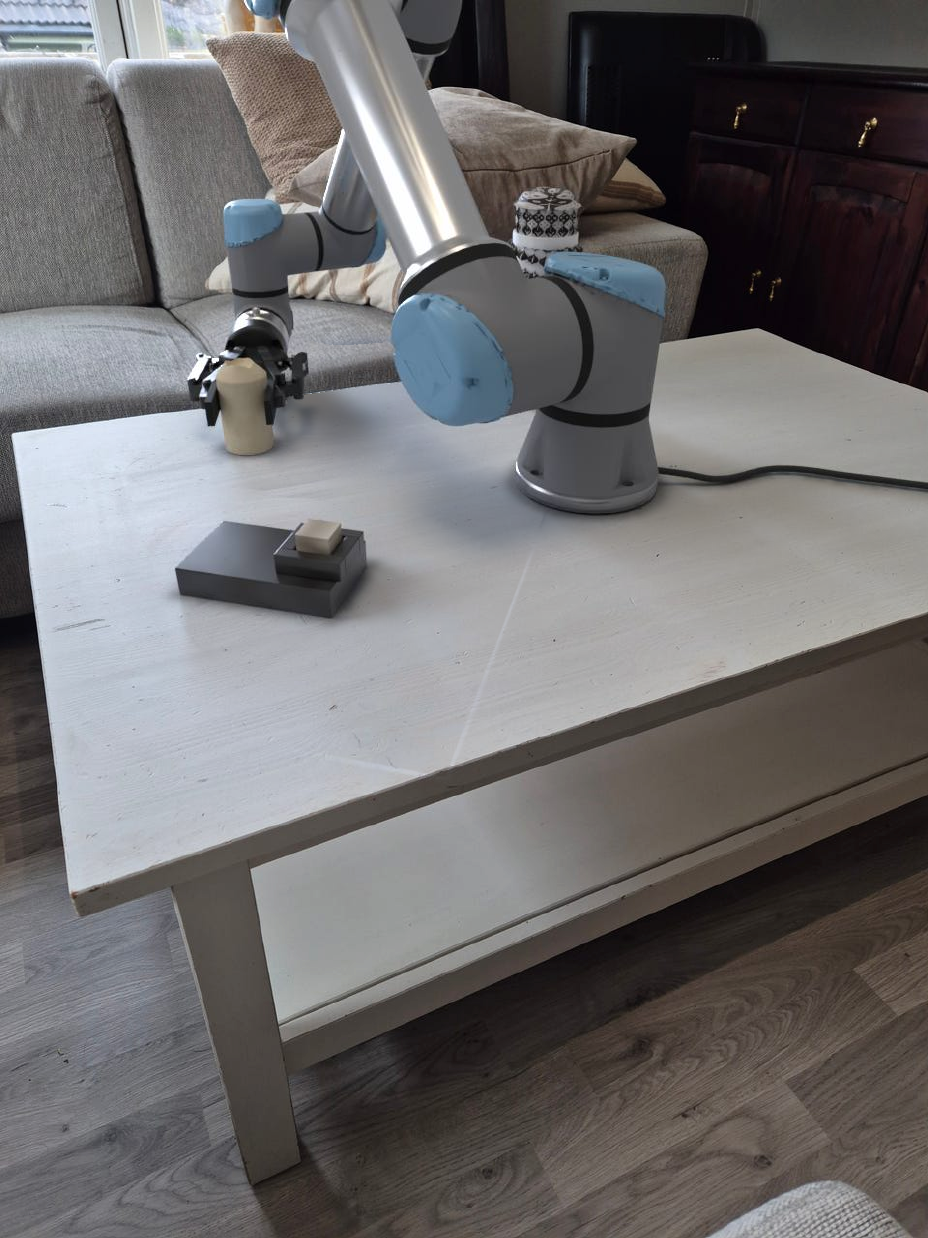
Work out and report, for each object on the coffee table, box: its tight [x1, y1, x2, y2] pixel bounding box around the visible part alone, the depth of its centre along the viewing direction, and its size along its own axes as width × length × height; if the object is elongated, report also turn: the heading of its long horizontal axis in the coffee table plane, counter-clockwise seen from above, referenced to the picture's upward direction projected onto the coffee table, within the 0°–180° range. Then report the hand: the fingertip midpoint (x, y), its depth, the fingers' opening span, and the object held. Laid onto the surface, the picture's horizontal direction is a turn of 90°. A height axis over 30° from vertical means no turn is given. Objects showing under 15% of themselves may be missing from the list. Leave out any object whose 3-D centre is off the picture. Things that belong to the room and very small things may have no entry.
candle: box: [216, 358, 275, 456], centre depth 101 cm, size 6×6×10 cm
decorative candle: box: [507, 186, 584, 279], centre depth 112 cm, size 9×9×25 cm
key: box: [295, 518, 342, 556], centre depth 75 cm, size 3×3×2 cm
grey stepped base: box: [174, 520, 368, 619], centre depth 78 cm, size 14×9×4 cm, turn 76°
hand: (239, 413), depth 96 cm, fingers closed on candle, 5 cm apart
